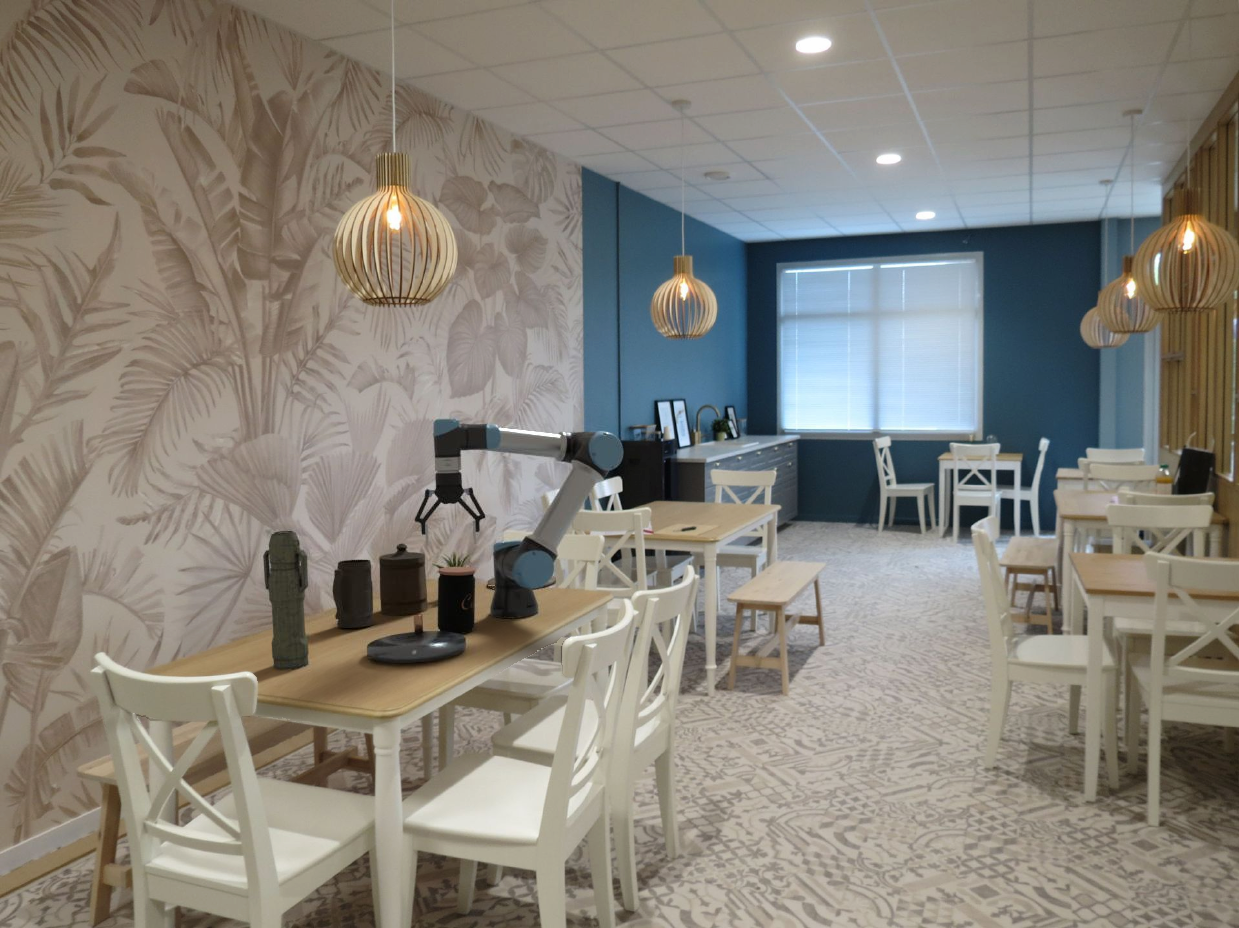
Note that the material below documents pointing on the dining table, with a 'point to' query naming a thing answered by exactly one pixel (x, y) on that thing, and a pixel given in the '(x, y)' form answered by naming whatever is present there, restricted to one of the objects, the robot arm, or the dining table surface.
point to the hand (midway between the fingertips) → (451, 544)
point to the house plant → (453, 561)
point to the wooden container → (403, 582)
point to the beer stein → (353, 593)
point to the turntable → (416, 645)
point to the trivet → (550, 583)
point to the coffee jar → (456, 599)
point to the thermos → (287, 599)
